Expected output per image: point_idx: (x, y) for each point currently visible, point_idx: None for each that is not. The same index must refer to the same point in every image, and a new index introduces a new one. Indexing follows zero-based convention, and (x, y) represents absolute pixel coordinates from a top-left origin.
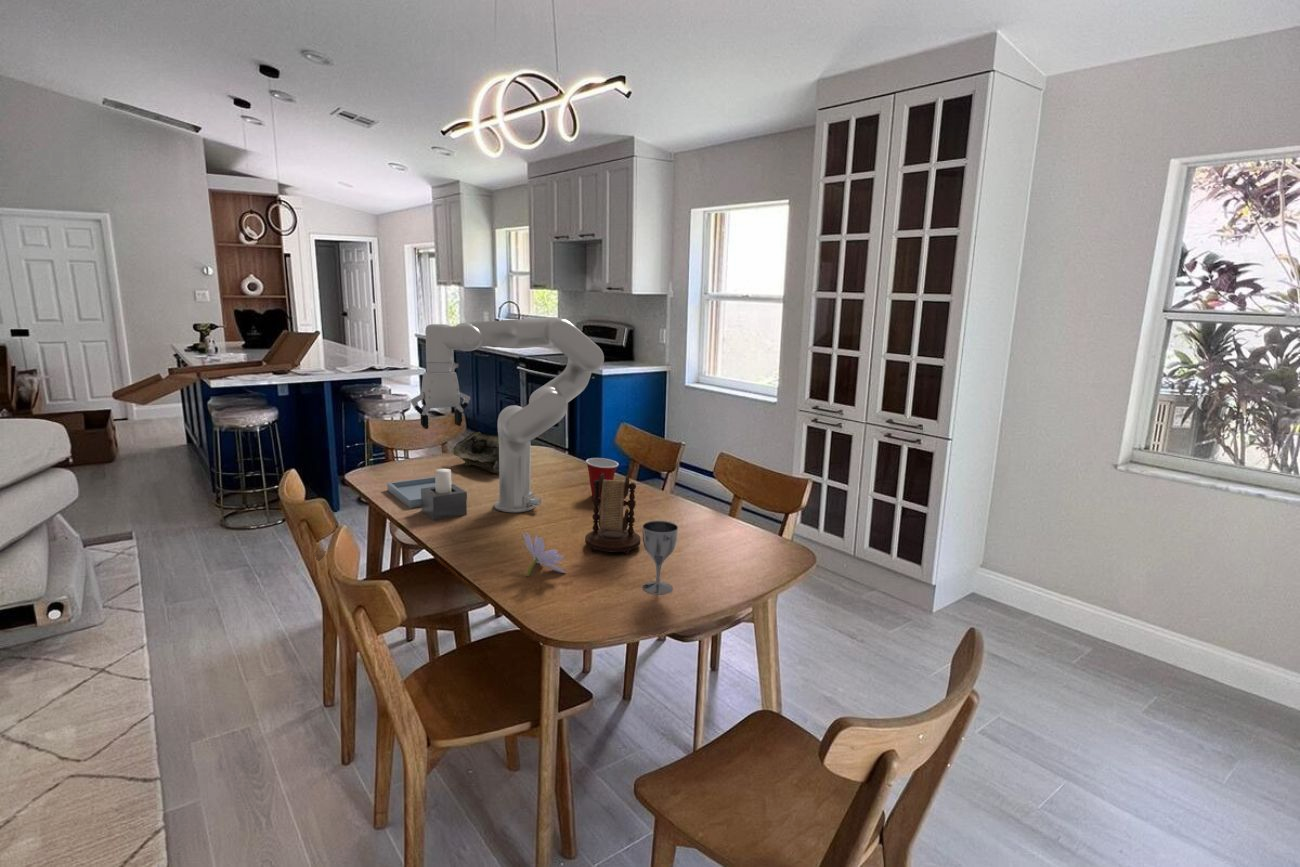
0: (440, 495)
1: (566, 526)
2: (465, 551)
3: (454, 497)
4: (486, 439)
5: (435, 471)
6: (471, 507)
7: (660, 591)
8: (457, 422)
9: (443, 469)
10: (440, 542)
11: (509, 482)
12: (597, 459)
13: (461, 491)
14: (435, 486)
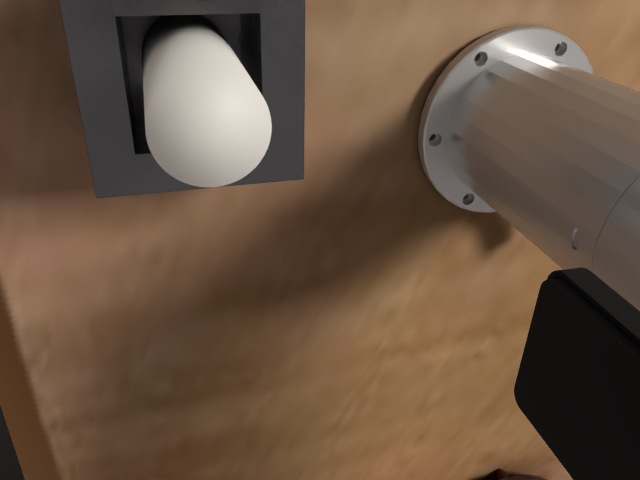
0: (146, 186)
1: (500, 374)
2: (135, 471)
3: None
4: None
5: (146, 128)
6: (342, 32)
7: None
8: (545, 400)
9: (225, 94)
10: (72, 390)
11: (523, 234)
12: None
13: (284, 157)
14: (143, 84)
